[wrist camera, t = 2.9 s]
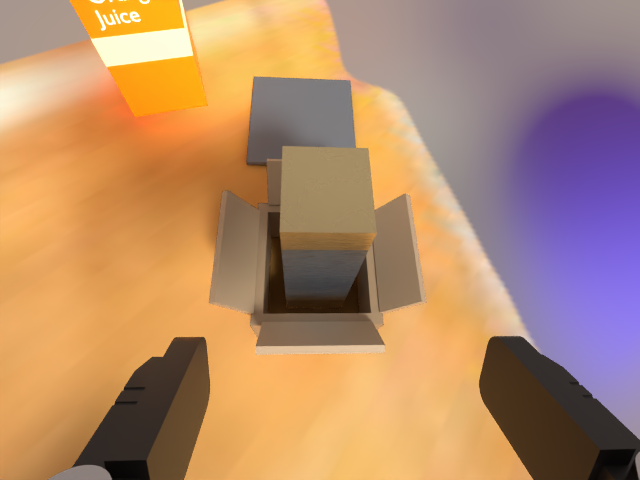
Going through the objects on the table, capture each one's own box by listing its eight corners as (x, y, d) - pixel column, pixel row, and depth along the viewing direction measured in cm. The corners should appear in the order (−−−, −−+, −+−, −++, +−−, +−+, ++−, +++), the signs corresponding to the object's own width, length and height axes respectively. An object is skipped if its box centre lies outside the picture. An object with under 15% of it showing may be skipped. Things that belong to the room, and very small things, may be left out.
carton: (225, 367, 26) (201, 354, 19) (240, 207, 32) (225, 155, 25) (400, 364, 27) (436, 351, 20) (383, 209, 33) (405, 159, 26)
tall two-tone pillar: (286, 308, 28) (279, 232, 16) (287, 252, 30) (282, 145, 18) (341, 308, 29) (376, 233, 16) (338, 252, 31) (368, 148, 18)
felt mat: (246, 164, 34) (246, 161, 34) (254, 79, 39) (254, 76, 39) (356, 167, 35) (357, 164, 35) (349, 83, 40) (350, 80, 40)
